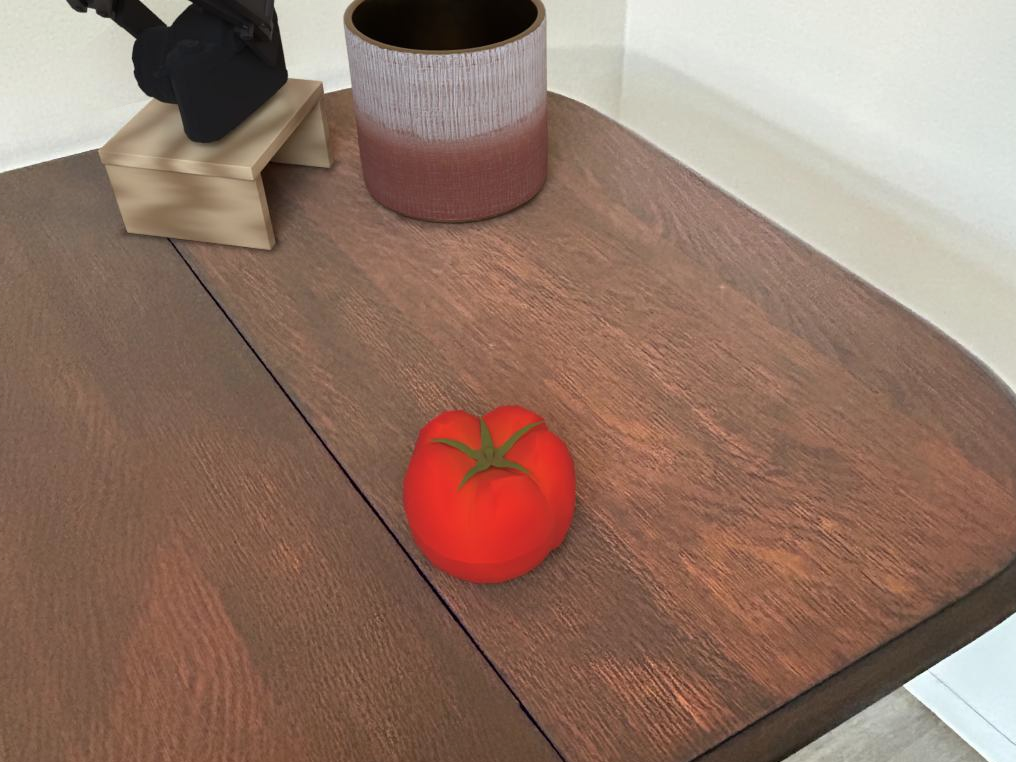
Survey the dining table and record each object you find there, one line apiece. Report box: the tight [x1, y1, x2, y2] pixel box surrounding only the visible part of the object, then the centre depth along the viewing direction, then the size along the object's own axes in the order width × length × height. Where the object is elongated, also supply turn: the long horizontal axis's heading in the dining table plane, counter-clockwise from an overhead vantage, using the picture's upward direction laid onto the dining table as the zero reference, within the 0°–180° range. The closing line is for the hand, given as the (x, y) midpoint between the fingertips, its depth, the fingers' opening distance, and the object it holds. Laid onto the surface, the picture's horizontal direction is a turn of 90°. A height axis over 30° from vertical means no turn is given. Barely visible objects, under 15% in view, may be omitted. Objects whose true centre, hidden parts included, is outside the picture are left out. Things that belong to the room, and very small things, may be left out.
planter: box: [342, 0, 549, 223], centre depth 94 cm, size 18×18×16 cm
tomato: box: [402, 404, 577, 584], centre depth 64 cm, size 11×12×9 cm
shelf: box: [97, 77, 335, 251], centre depth 95 cm, size 14×17×8 cm
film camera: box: [131, 2, 289, 143], centre depth 88 cm, size 15×10×9 cm, turn 161°
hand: (216, 45), depth 90 cm, fingers closed on film camera, 10 cm apart
